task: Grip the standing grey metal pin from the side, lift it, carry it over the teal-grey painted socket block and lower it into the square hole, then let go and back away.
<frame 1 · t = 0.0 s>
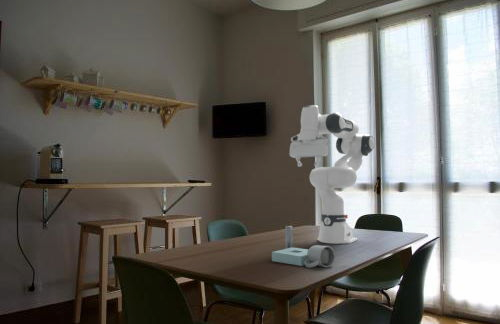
hand: (307, 166, 185), 39 cm above the table, tool pointing down, fingers open, 8 cm apart
pin: (289, 254, 168), on the table
ceramic mug: (318, 266, 144), on the table
socket block: (296, 260, 154), on the table
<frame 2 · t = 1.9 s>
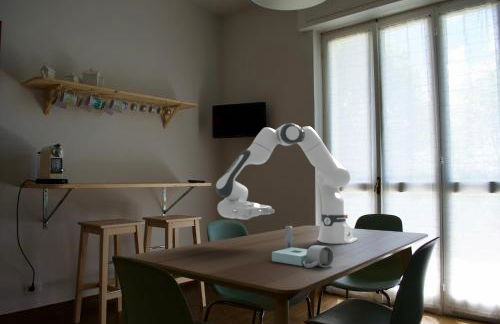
hand: (267, 211, 177), 18 cm above the table, tool horizontal, fingers open, 8 cm apart
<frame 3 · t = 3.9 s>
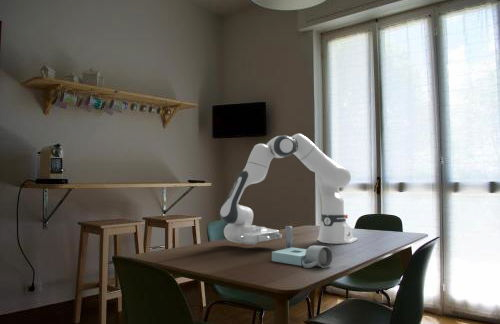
hand: (274, 237, 173), 6 cm above the table, tool horizontal, fingers open, 8 cm apart
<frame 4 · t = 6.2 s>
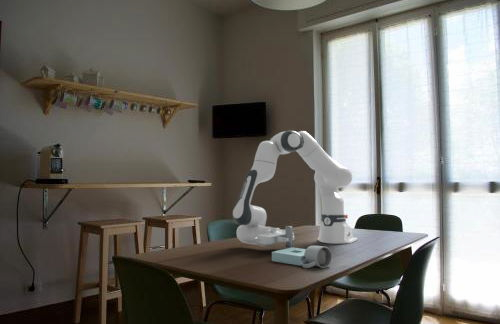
hand: (290, 239, 167), 7 cm above the table, tool horizontal, fingers closed on pin, 3 cm apart
pin: (289, 254, 168), on the table, touching gripper
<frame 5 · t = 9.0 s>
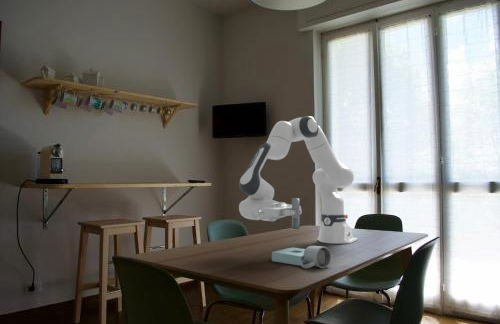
hand: (297, 212, 155), 19 cm above the table, tool horizontal, fingers closed on pin, 3 cm apart
pin: (295, 228, 155), point 13 cm above the table, touching gripper
when the fingers open (8 cm above the table, at t = 11.7 s): pin drops 1 cm, resting in socket block.
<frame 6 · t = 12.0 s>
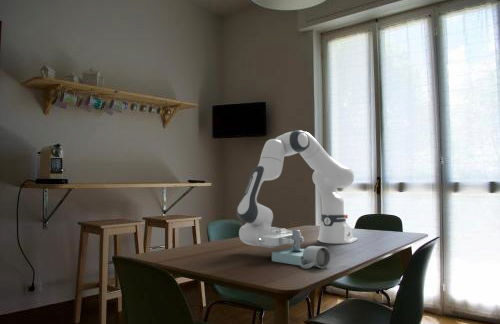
hand: (298, 240, 154), 8 cm above the table, tool horizontal, fingers open, 5 cm apart
pin: (296, 260, 154), resting in socket block
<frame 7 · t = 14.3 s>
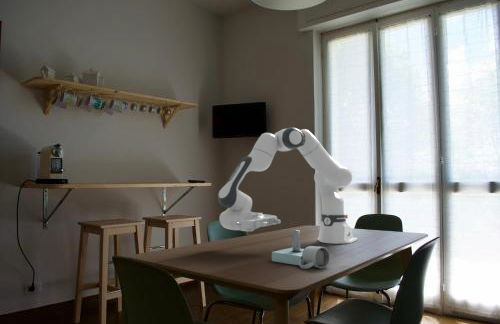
hand: (272, 223, 165), 14 cm above the table, tool horizontal, fingers open, 8 cm apart
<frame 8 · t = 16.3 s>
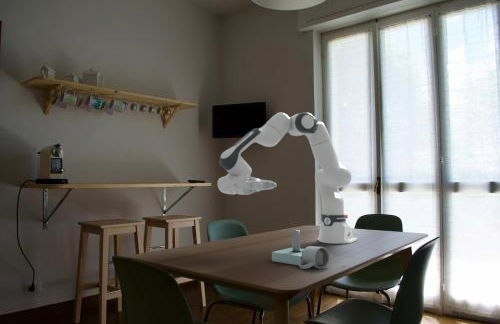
hand: (268, 185, 169), 30 cm above the table, tool horizontal, fingers open, 8 cm apart
at the end: pin 0.0 cm off-centre on the socket block, point 0.0 cm above the socket block's base; pin tilted 0°; the gripper is holding nothing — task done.
